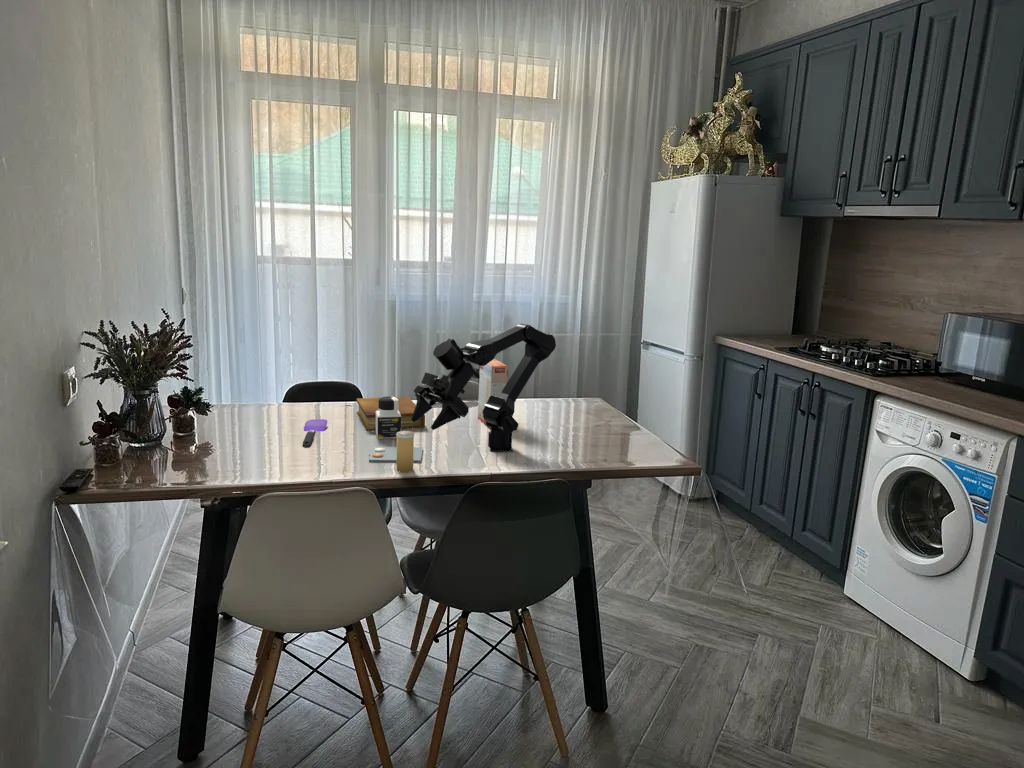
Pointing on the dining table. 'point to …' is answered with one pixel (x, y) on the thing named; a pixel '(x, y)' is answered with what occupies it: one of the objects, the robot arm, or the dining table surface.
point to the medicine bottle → (388, 418)
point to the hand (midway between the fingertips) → (422, 424)
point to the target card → (392, 454)
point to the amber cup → (405, 451)
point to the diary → (371, 406)
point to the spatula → (313, 430)
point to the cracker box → (491, 383)
